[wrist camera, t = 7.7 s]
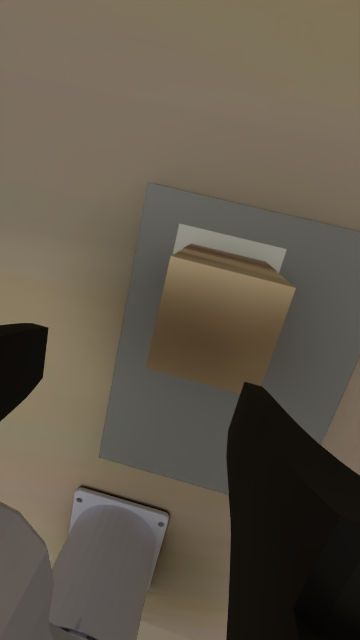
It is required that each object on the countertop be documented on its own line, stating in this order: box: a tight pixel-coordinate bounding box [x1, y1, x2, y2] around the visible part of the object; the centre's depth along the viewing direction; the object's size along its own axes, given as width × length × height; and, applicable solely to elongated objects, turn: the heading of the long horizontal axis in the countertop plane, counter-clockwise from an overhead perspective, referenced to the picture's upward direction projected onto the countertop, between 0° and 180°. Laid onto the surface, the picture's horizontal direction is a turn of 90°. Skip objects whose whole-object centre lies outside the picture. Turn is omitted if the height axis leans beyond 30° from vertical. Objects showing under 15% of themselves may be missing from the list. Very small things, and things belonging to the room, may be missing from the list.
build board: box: [99, 183, 360, 495], centre depth 21 cm, size 20×15×1 cm
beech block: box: [146, 249, 296, 394], centre depth 14 cm, size 4×4×4 cm
